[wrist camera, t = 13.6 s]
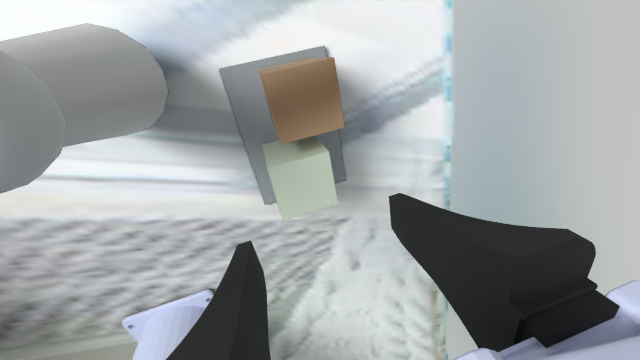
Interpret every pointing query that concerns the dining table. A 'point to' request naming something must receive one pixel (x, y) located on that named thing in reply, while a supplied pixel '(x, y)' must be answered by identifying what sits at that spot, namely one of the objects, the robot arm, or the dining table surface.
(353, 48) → the dining table surface
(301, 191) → the sage block
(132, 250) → the dining table surface
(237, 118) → the slate mat
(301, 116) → the walnut block
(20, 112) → the salt shaker
